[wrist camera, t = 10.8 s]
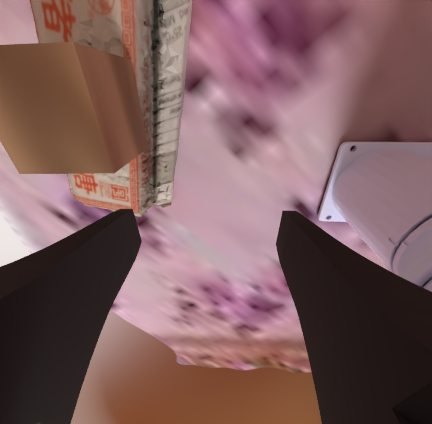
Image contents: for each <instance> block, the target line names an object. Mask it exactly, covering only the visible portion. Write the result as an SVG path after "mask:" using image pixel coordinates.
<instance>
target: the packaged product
mask: <svg viewBox="0 0 432 424" xmlns="http://www.w3.org/2000/svg"><path fill="white" fill-rule="evenodd" d="M30 3H31V8H32V12H33V16H34V21H35V26H36V32H37V37H38V41H39V43H61V42H75V43H78V44H82V45H85V46H88V47H91V48H95V49H98V50H101V51H105V52H108V53H111V54H114V55H118V56H121V57H124V58H127V59H131V63H132V67H133V72H134V77H135V82H136V87H137V92H138V97H139V102H140V107H141V112H142V117H143V122H144V127H145V132H146V137H147V142H148V147H149V148H148V149H147V150H145V151H144V152H142V153H141V154H140V155H138V156H137V157H136V158H134V159H133V160H132V161H130V162H129V163H128V164H126V165H125V166H124V167H122V168H121V169H120V170H118V171H117V172H116V173H89V174H67V176H68V180H69V186H70V190H71V193H72V195H73V197H74V198H75V199H77V200H78V201H81V202H82V203H83V204H84V205H86V206H89V207H90V206H96V207H98V208H105V209H110V210H112V211H116V210H119V209H133V212H134V215H136V216H139V217H141V216H143V214H144V213H147V209H149V208H150V207H151V206H152V205H157V206H161V207H166V206H169V205H171V202H172V198H173V184H174V172H175V166H176V159H177V152H178V141H179V132H180V123H181V115H182V107H183V97H184V87H185V74H186V65H187V56H188V46H189V34H190V23H191V11H192V0H30Z"/></svg>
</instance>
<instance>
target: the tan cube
mask: <svg viewBox="0 0 432 424" xmlns="http://www.w3.org/2000/svg"><path fill="white" fill-rule="evenodd" d="M0 141H1V143H2V145H3V146H4V148H5V150H6V152H7V153H8V155H9V157H10V158H11V160H12V162H13V164H14V165H15V167H16V169H17V170H18V172H19V174H89V173H116V172H117V171H118V170H120V169H121V168H122V167H124V166H125V165H126V164H128V163H129V162H130V161H132V160H133V159H134V158H136V157H137V156H138V155H140V154H141V153H142V152H144V151H145V150H147V149H148V148H149V147H148V142H147V137H146V132H145V127H144V122H143V117H142V112H141V107H140V102H139V97H138V92H137V87H136V82H135V77H134V72H133V67H132V63H131V59H127V58H124V57H121V56H118V55H114V54H111V53H108V52H105V51H101V50H98V49H95V48H91V47H88V46H85V45H82V44H78V43H75V42H61V43H37V44H14V45H0Z"/></svg>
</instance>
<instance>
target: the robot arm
mask: <svg viewBox="0 0 432 424" xmlns="http://www.w3.org/2000/svg"><path fill="white" fill-rule="evenodd" d="M352 146H354V149H353V150H351V151H350V148H351V147H352ZM329 215H330V216H329ZM327 216H329V217H327ZM326 217H327V218H326ZM318 219H319V220H320V221H336V222H348V223H349V225H350V226H351V227H352V228H353V229H354V230H355V231H356V233H357V234H358V235H359V236H360V237H361V238H362V239H363V240H364V242H365V243H366V244H367V245H368V246H369V247H370V248H371V249H372V251H373V252H374V253H375V254H376V255H377V256H378V257H379V258H380V260H381V261H382V262H383V263H384V264H385V265H386V266H387V267H388V269H389V270H390V271H391V272H390V271H388V270H386V269H384V268H383V267H381V266H379V265H377V264H375V263H374V262H372V261H370V260H368V259H367V258H365V257H363V256H361V255H360V254H358V253H356V252H355V251H353V250H352V249H350V248H349V247H347V246H345V245H344V244H342V243H341V242H339V241H338V240H336V239H335V238H333V237H332V236H331V235H329V234H328V233H326V232H325V231H324V230H322V229H321V228H319V227H318V226H317V225H315V224H314V223H313V222H311V221H310V220H308V219H307V218H306V217H304V216H303V215H302V214H300V213H298V212H297V211H283V212H282V217H281V222H280V227H279V232H278V237H277V242H276V246H277V251H278V256H279V261H280V264H281V267H282V270H283V273H284V276H285V278H286V281H287V284H288V287H289V290H290V292H291V295H292V298H293V301H294V303H295V306H296V309H297V313H298V316H299V320H300V324H301V328H302V332H303V336H304V340H305V344H306V348H307V353H308V357H309V361H310V366H311V370H312V375H313V380H314V384H315V390H316V394H317V399H318V404H319V410H320V415H321V421H322V424H432V142H344V143H342V144H341V145H340V147H339V150H338V153H337V157H336V160H335V163H334V166H333V169H332V172H331V175H330V178H329V182H328V185H327V188H326V191H325V194H324V197H323V200H322V204H321V207H320V210H319V213H318ZM141 242H142V241H141V237H140V234H139V230H138V226H137V223H136V219H135V215H134V212H133V209H119V210H116V211H114V212H112V213H110V214H108V215H106V216H105V217H103V218H101V219H99V220H97V221H96V222H94V223H92V224H90V225H88V226H87V227H85V228H83V229H81V230H79V231H77V232H76V233H74V234H72V235H70V236H68V237H66V238H64V239H62V240H60V241H58V242H56V243H54V244H52V245H50V246H48V247H46V248H44V249H42V250H40V251H37V252H35V253H33V254H31V255H29V256H26V257H24V258H21V259H19V260H17V261H14V262H12V263H10V264H7V265H4V266H2V267H0V424H70V423H71V420H72V417H73V413H74V410H75V407H76V403H77V399H78V397H79V393H80V390H81V387H82V384H83V381H84V378H85V375H86V372H87V369H88V366H89V363H90V360H91V357H92V355H93V352H94V349H95V347H96V344H97V341H98V338H99V335H100V333H101V330H102V328H103V325H104V323H105V320H106V318H107V315H108V313H109V311H110V308H111V306H112V304H113V302H114V300H115V298H116V296H117V294H118V292H119V290H120V288H121V287H122V285H123V283H124V281H125V279H126V277H127V275H128V273H129V271H130V269H131V267H132V265H133V263H134V261H135V259H136V256H137V254H138V251H139V248H140V245H141Z"/></svg>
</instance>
